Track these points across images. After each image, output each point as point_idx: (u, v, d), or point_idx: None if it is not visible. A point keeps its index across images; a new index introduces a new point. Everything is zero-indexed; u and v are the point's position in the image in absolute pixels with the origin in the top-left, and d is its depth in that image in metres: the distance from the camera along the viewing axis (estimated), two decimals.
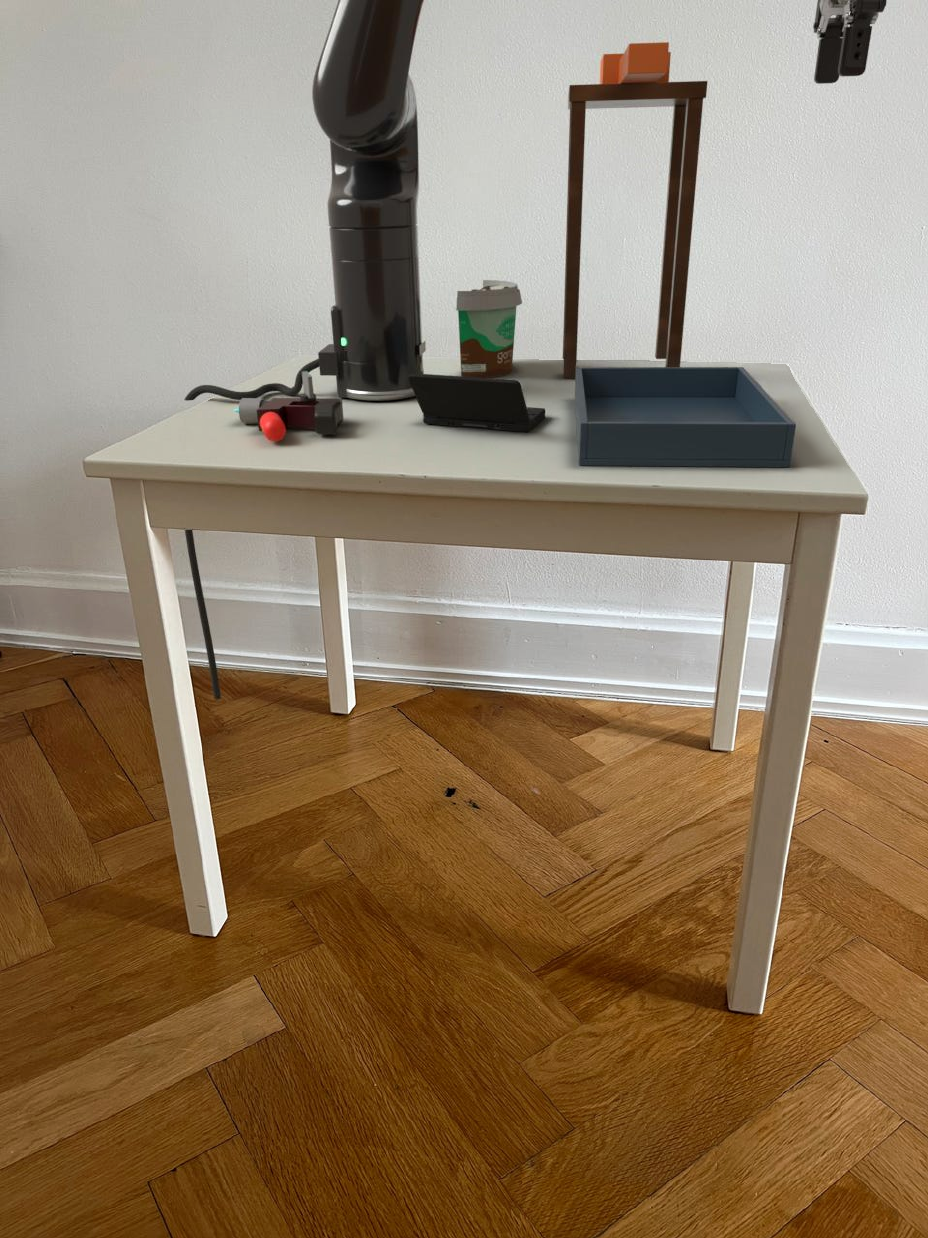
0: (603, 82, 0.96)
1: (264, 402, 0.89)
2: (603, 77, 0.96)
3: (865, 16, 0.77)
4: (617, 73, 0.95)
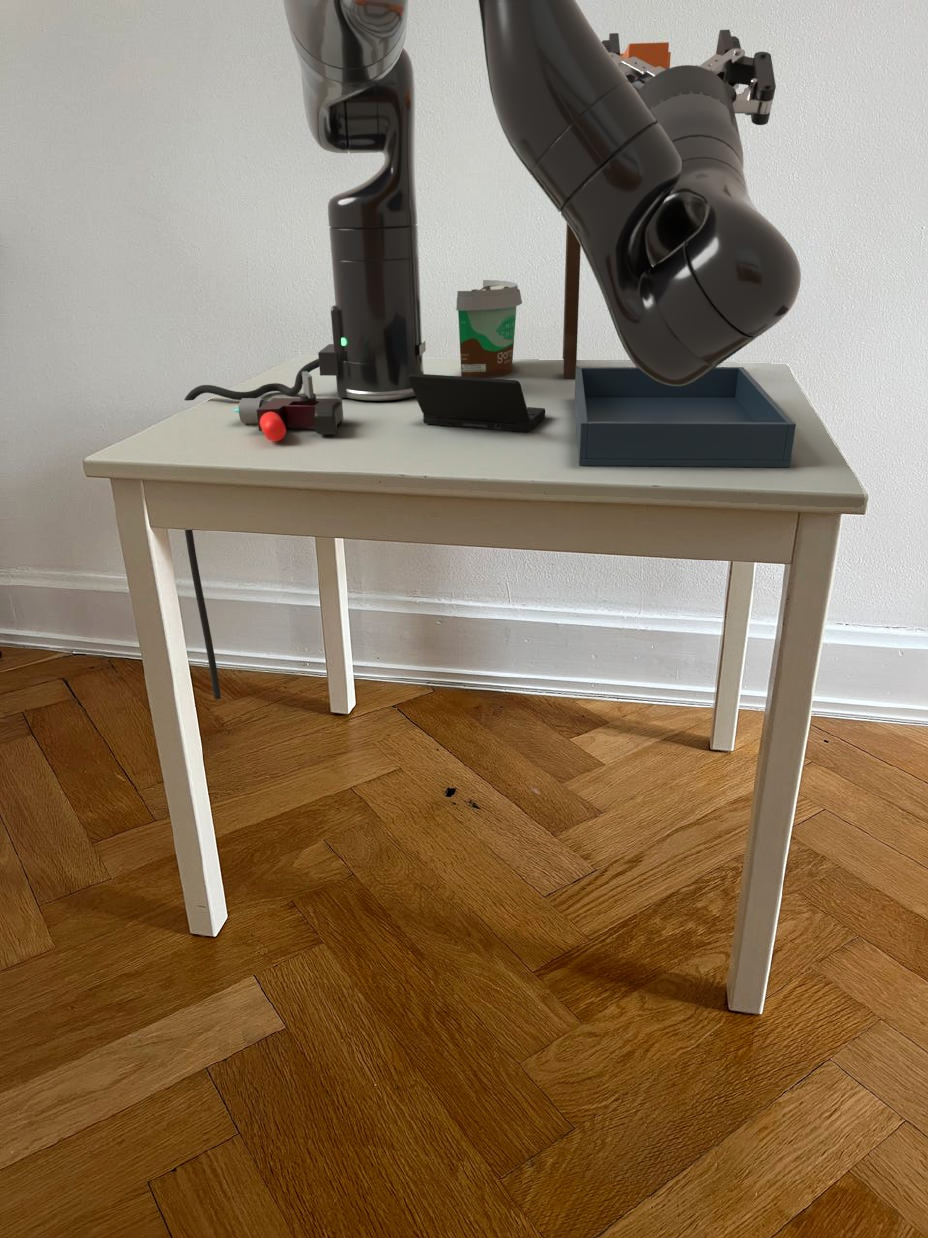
0: None
1: (264, 402, 0.89)
2: None
3: None
4: None
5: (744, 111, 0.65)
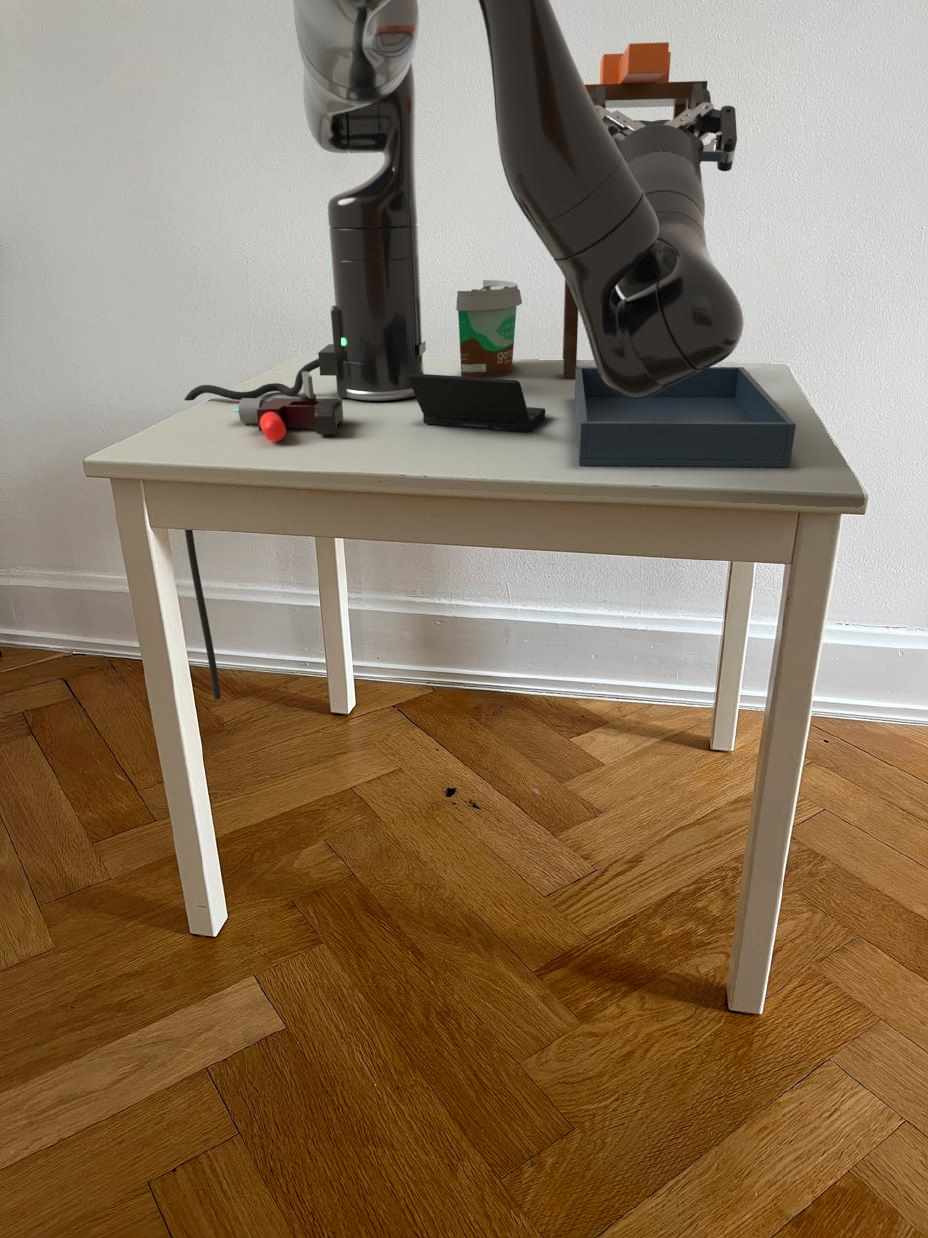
0: (603, 82, 0.96)
1: (264, 402, 0.89)
2: (603, 77, 0.96)
3: None
4: (617, 73, 0.95)
5: (710, 159, 0.76)
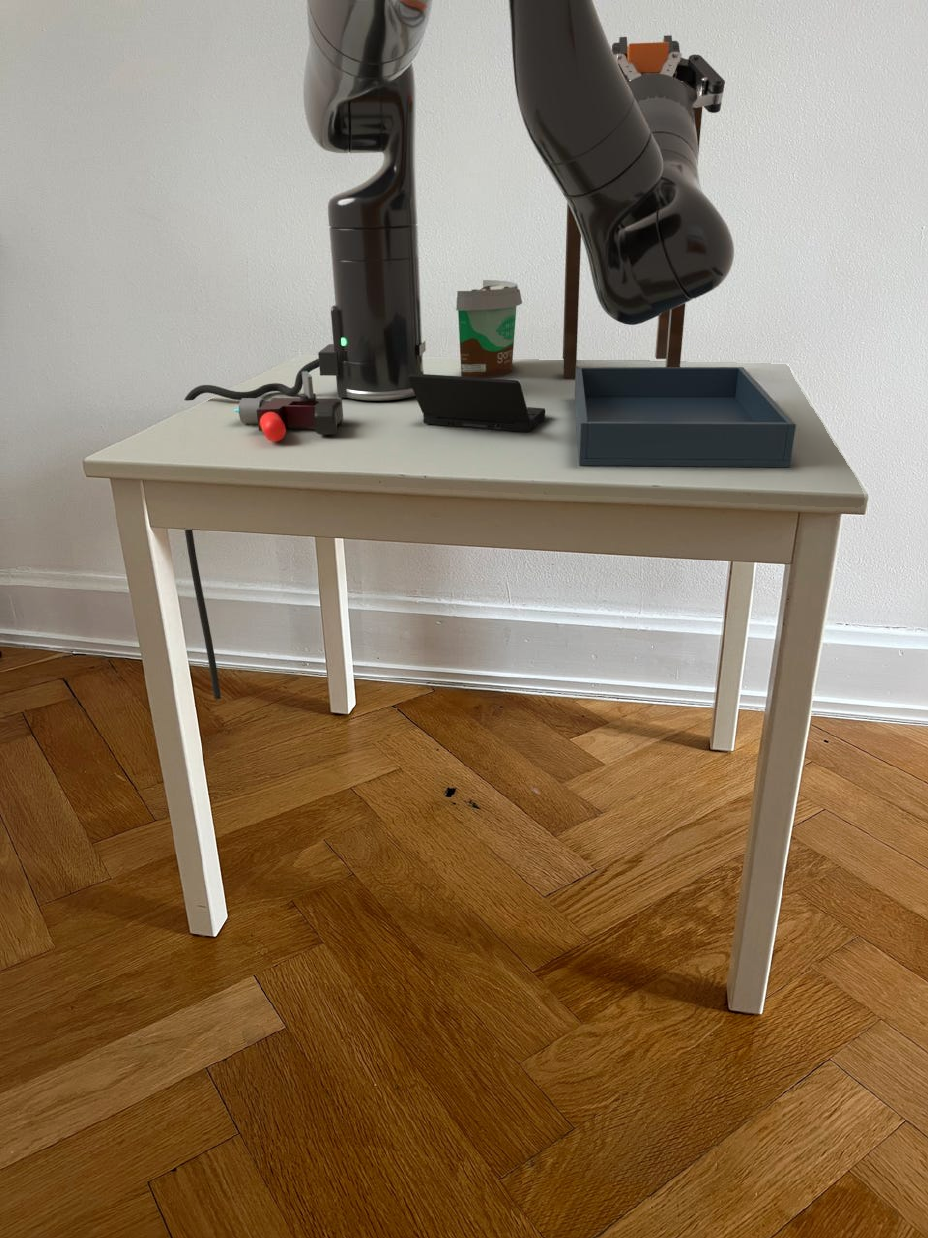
0: None
1: (264, 402, 0.89)
2: None
3: None
4: None
5: (704, 104, 0.81)
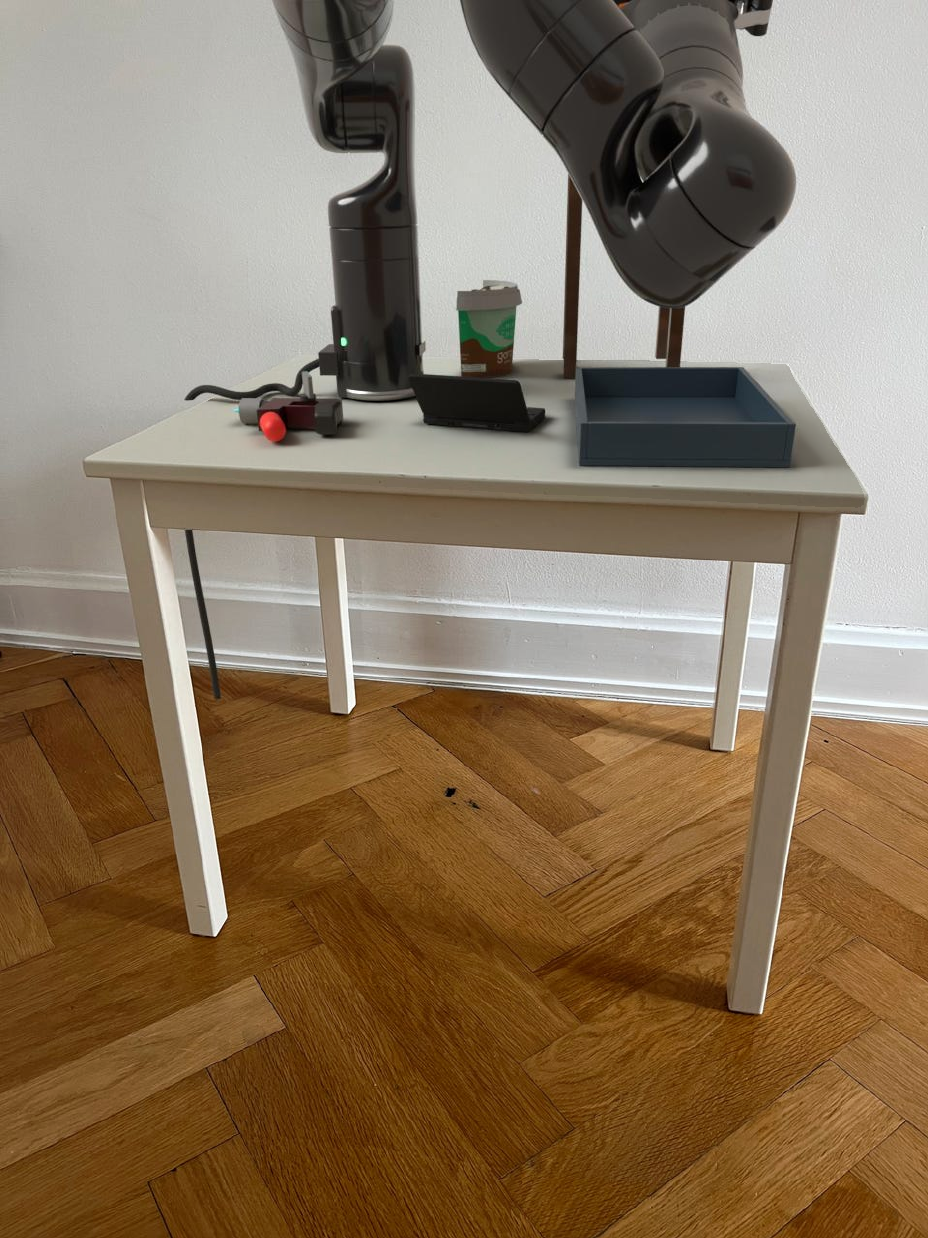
0: None
1: (264, 402, 0.89)
2: None
3: None
4: None
5: (746, 24, 0.63)
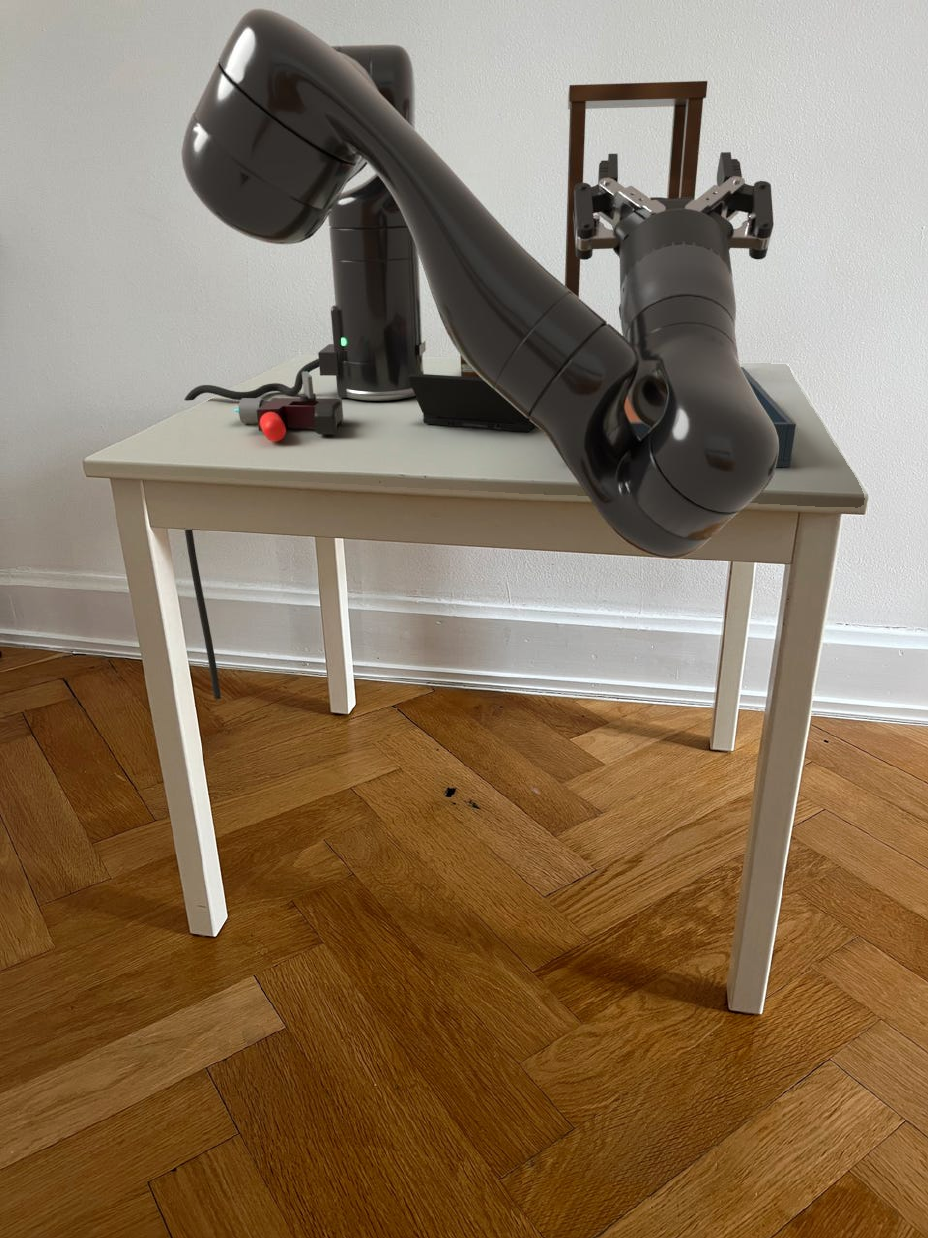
0: None
1: (264, 402, 0.89)
2: None
3: None
4: None
5: (741, 246, 0.64)
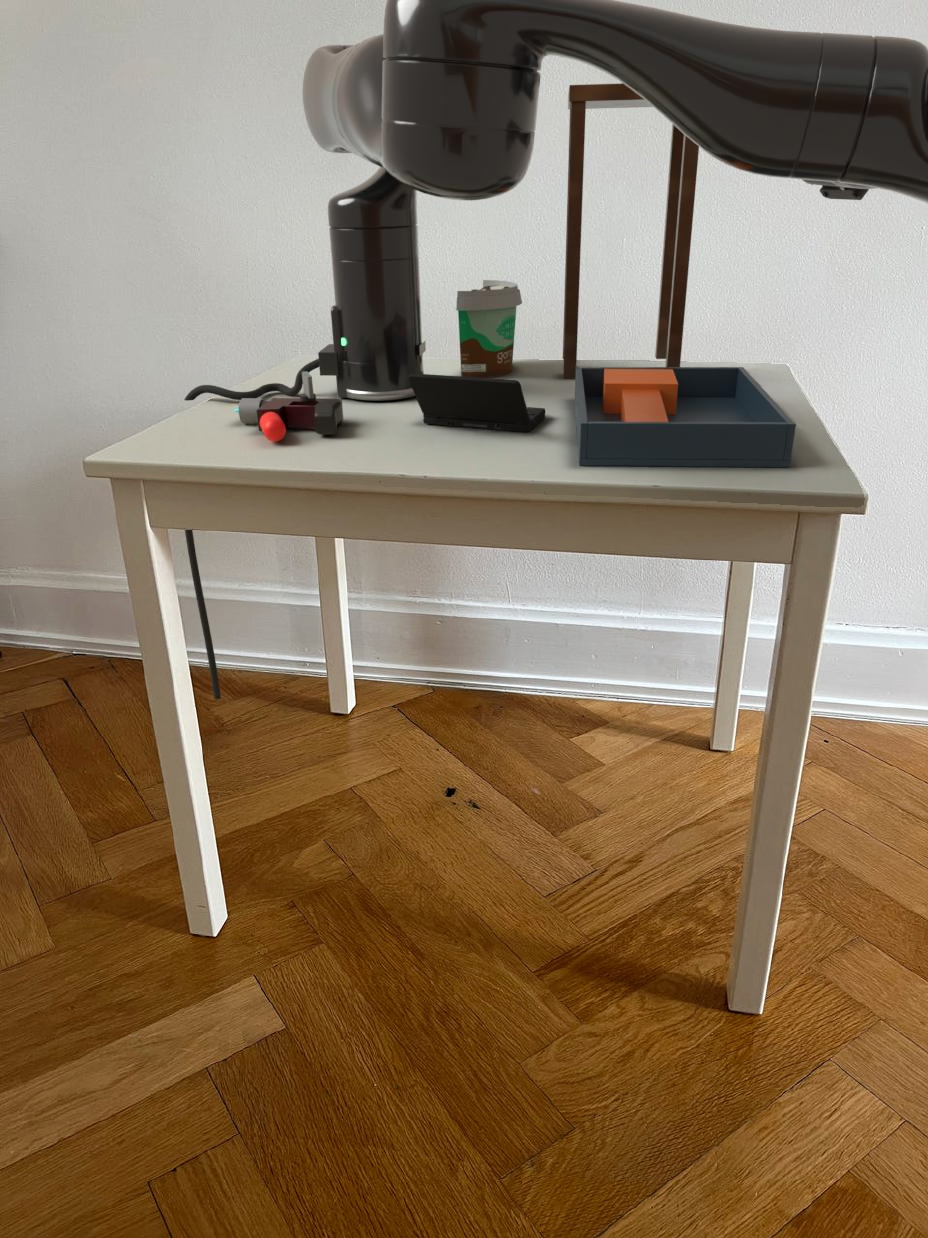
0: (604, 410, 0.88)
1: (264, 402, 0.89)
2: (604, 405, 0.88)
3: None
4: (620, 402, 0.88)
5: None
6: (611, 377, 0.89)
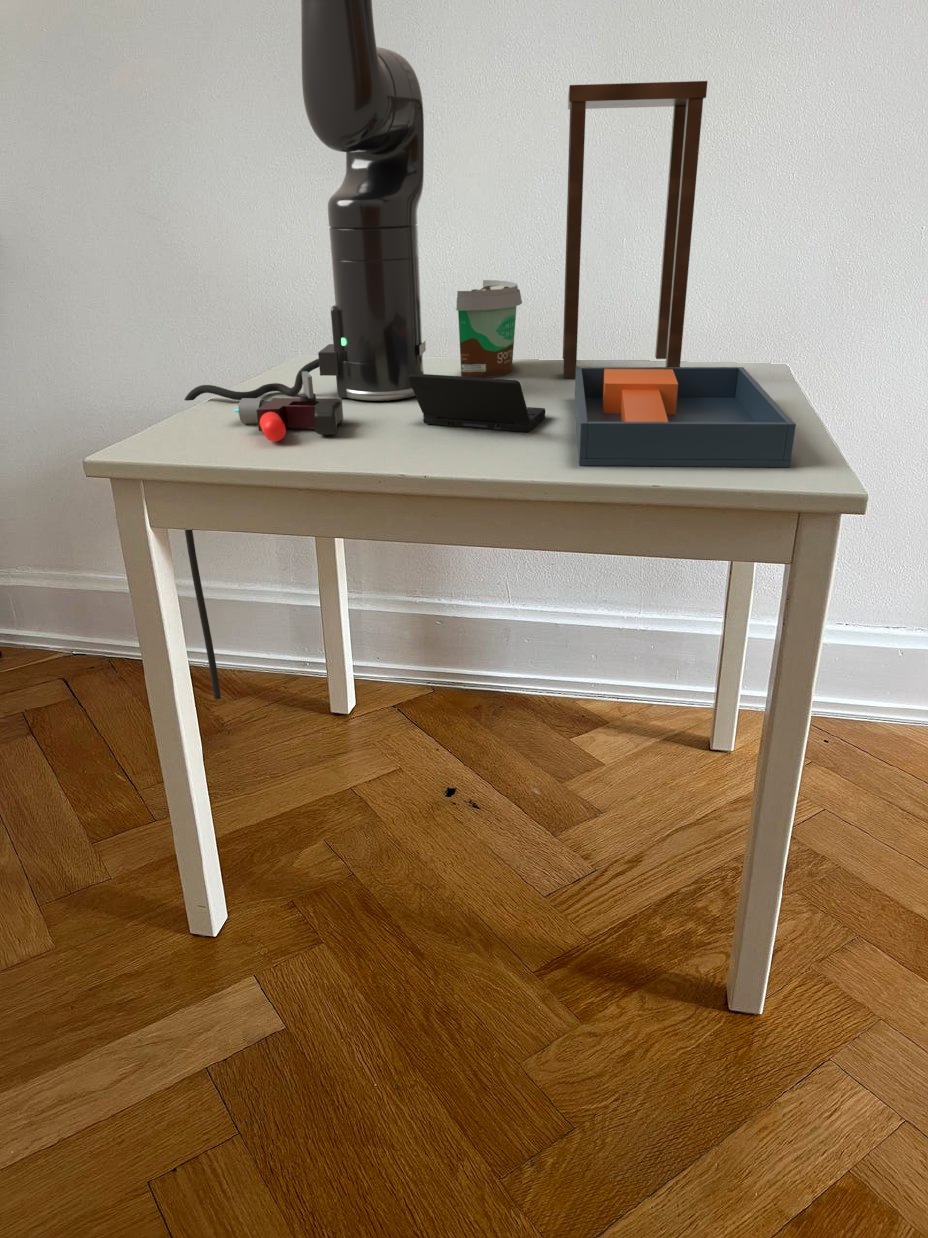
0: (604, 410, 0.88)
1: (264, 402, 0.89)
2: (604, 405, 0.88)
3: None
4: (620, 402, 0.88)
5: None
6: (611, 377, 0.89)
